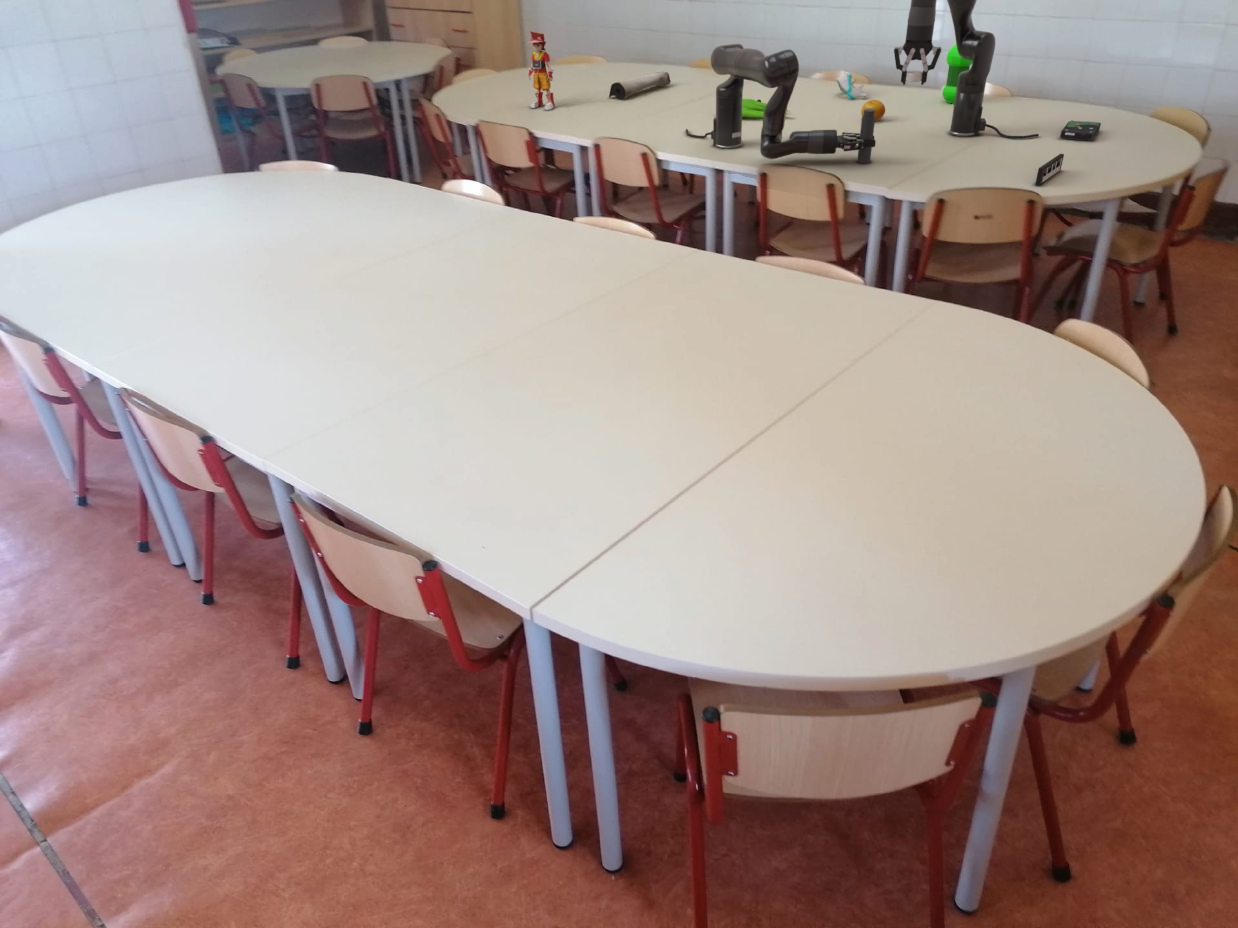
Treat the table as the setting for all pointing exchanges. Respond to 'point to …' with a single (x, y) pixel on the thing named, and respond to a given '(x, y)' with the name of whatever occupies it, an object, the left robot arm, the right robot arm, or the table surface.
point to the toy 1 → (541, 71)
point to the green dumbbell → (954, 73)
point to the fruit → (876, 106)
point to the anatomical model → (850, 86)
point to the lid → (914, 76)
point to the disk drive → (1080, 130)
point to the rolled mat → (638, 84)
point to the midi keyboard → (1049, 169)
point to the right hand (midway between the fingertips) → (913, 84)
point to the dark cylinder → (866, 135)
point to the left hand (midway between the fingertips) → (874, 141)
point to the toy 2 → (753, 108)
